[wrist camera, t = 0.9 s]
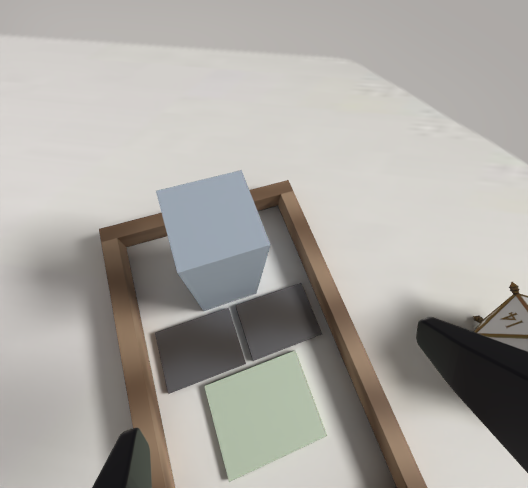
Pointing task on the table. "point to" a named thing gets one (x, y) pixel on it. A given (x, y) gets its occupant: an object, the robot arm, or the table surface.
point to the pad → (263, 414)
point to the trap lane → (256, 332)
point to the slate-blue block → (215, 238)
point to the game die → (508, 321)
